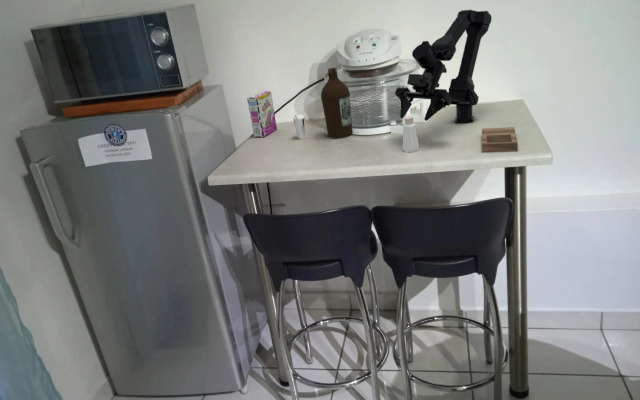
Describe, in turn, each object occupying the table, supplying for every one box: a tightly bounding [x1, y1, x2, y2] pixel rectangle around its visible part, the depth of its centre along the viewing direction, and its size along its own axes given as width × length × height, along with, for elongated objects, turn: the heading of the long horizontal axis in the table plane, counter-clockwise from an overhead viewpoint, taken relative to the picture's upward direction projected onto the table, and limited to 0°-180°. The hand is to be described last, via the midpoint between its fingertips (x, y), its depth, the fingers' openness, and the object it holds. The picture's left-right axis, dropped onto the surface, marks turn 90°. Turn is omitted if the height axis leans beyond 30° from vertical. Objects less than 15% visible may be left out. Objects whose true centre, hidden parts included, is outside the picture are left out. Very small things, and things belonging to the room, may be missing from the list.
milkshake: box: [292, 113, 307, 140], centre depth 187 cm, size 5×5×10 cm
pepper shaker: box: [402, 115, 420, 153], centre depth 157 cm, size 5×5×11 cm
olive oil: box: [320, 66, 353, 139], centre depth 181 cm, size 11×11×25 cm
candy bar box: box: [246, 90, 278, 139], centre depth 199 cm, size 11×5×16 cm, turn 154°
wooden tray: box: [481, 126, 519, 153], centre depth 153 cm, size 16×10×2 cm, turn 163°
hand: (413, 119), depth 157 cm, fingers open, 9 cm apart
